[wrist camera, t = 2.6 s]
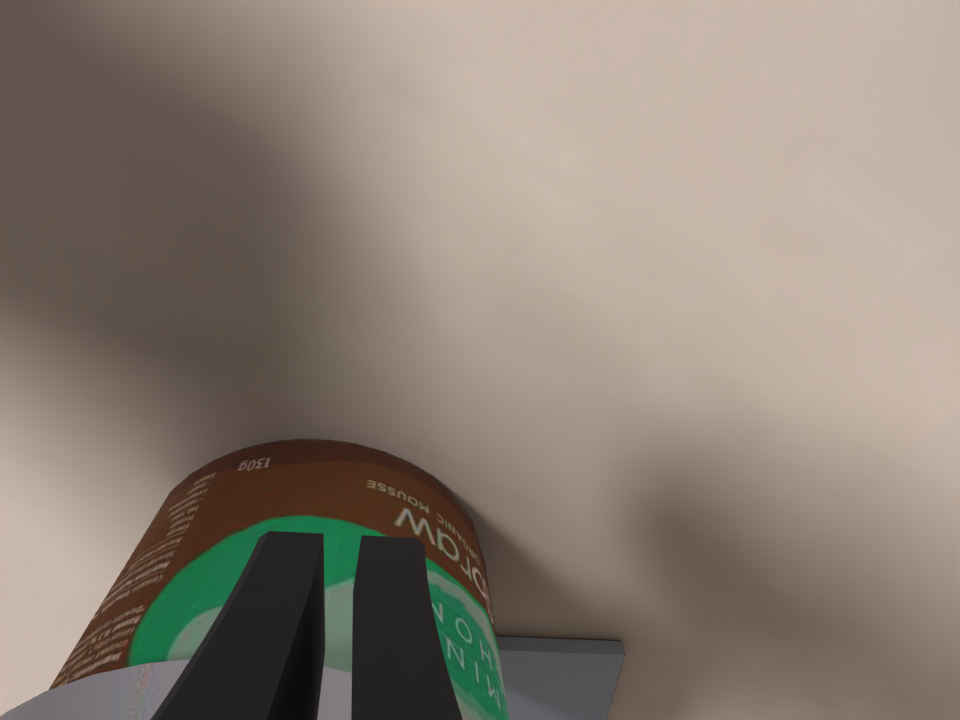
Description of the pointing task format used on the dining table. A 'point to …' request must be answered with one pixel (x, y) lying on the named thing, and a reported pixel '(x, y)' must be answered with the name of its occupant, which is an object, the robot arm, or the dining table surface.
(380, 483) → the food container
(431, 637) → the robot arm
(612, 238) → the dining table surface
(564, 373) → the dining table surface
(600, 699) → the mat
